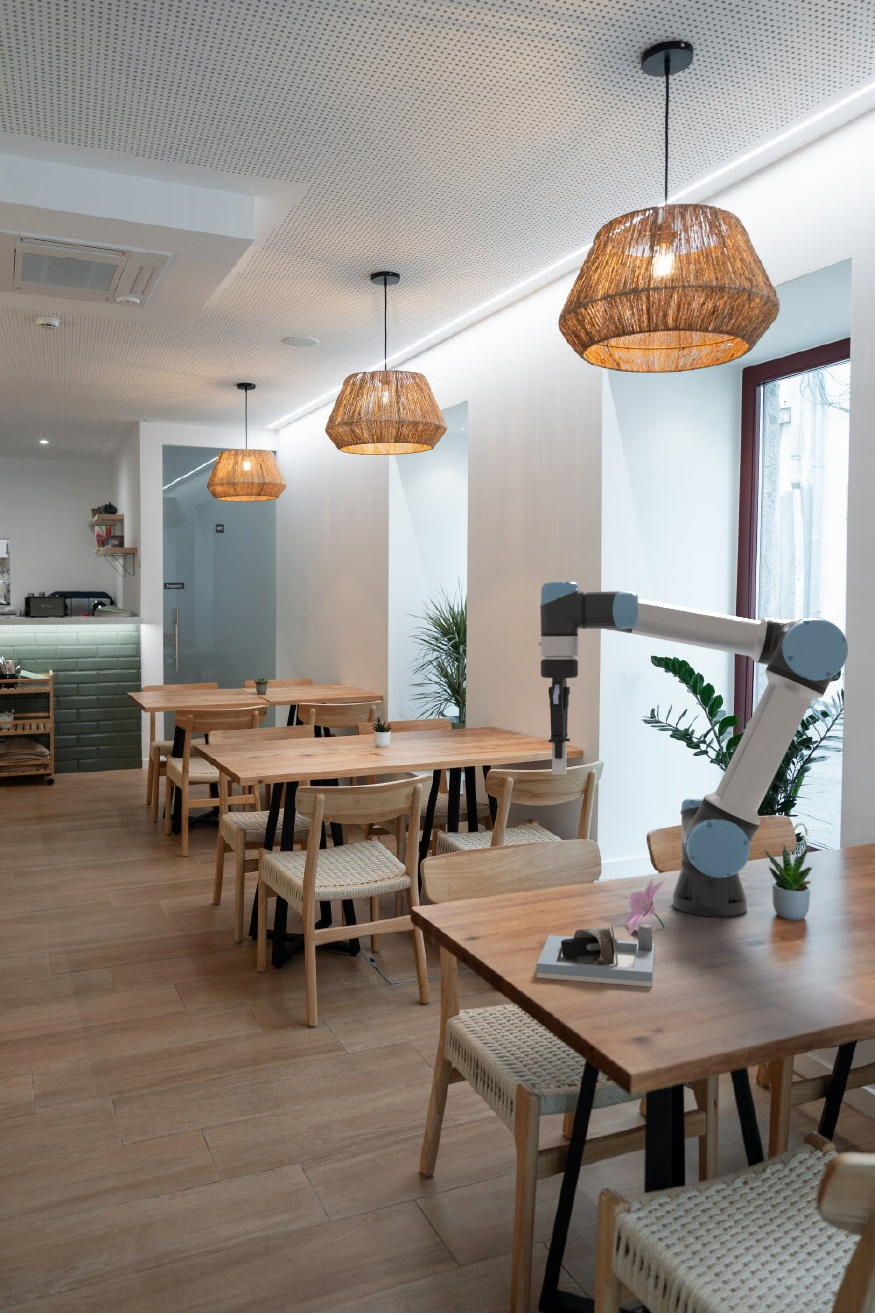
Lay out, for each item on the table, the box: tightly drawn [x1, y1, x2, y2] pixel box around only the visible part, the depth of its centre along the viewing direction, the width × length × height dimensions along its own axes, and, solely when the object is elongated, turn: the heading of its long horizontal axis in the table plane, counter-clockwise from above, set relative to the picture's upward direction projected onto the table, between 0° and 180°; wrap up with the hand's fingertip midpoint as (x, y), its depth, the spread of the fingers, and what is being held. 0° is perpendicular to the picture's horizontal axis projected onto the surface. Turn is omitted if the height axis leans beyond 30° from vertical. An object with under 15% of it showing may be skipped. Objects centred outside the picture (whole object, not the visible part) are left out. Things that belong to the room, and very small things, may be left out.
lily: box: [622, 878, 666, 936], centre depth 194 cm, size 12×12×10 cm
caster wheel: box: [561, 923, 619, 966], centre depth 172 cm, size 7×11×10 cm
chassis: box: [536, 924, 656, 988], centre depth 172 cm, size 19×16×6 cm
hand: (559, 774), depth 201 cm, fingers closed
